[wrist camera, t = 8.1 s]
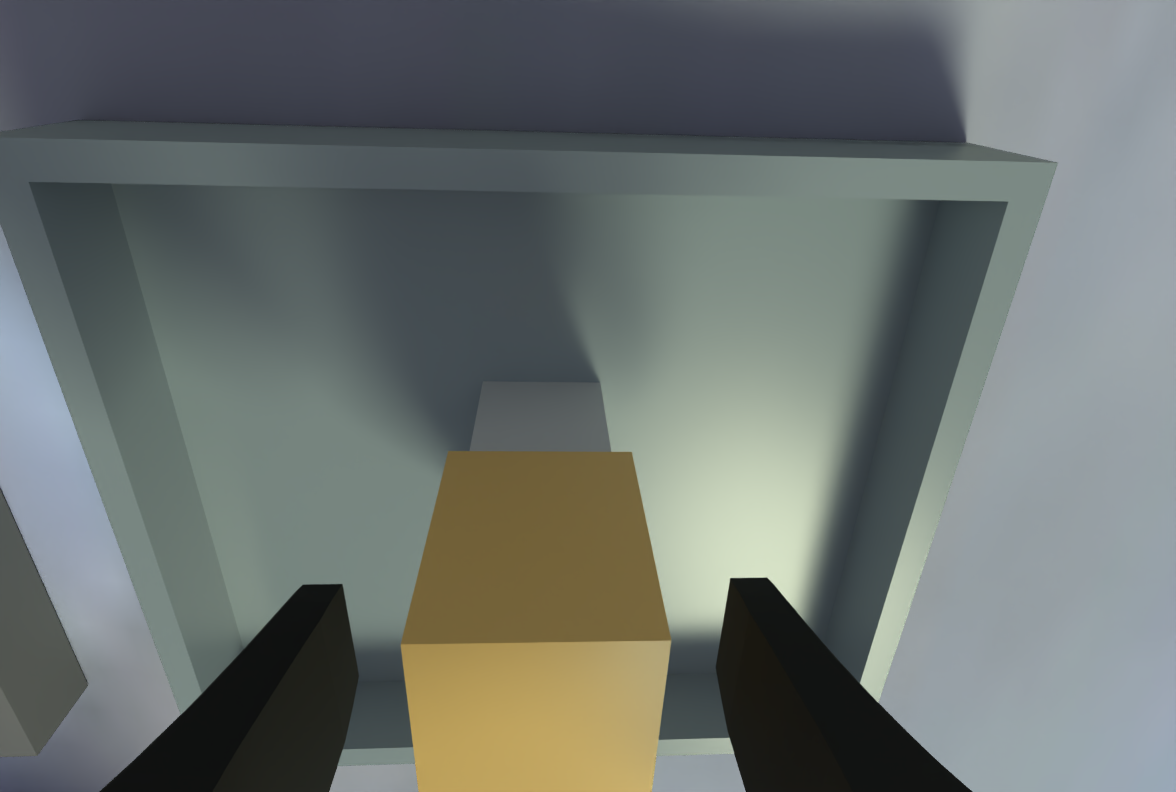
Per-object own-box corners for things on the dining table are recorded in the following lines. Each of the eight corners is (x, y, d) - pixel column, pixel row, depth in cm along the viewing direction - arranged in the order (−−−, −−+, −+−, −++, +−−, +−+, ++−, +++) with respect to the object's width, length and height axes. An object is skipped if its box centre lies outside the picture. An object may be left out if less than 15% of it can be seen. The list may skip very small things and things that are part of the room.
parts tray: (825, 667, 19) (862, 749, 17) (243, 681, 18) (200, 770, 16) (968, 142, 13) (1057, 162, 10) (79, 120, 12) (-32, 137, 9)
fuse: (605, 529, 16) (644, 847, 9) (475, 530, 15) (426, 855, 9) (615, 374, 14) (671, 640, 8) (467, 372, 14) (401, 643, 7)
